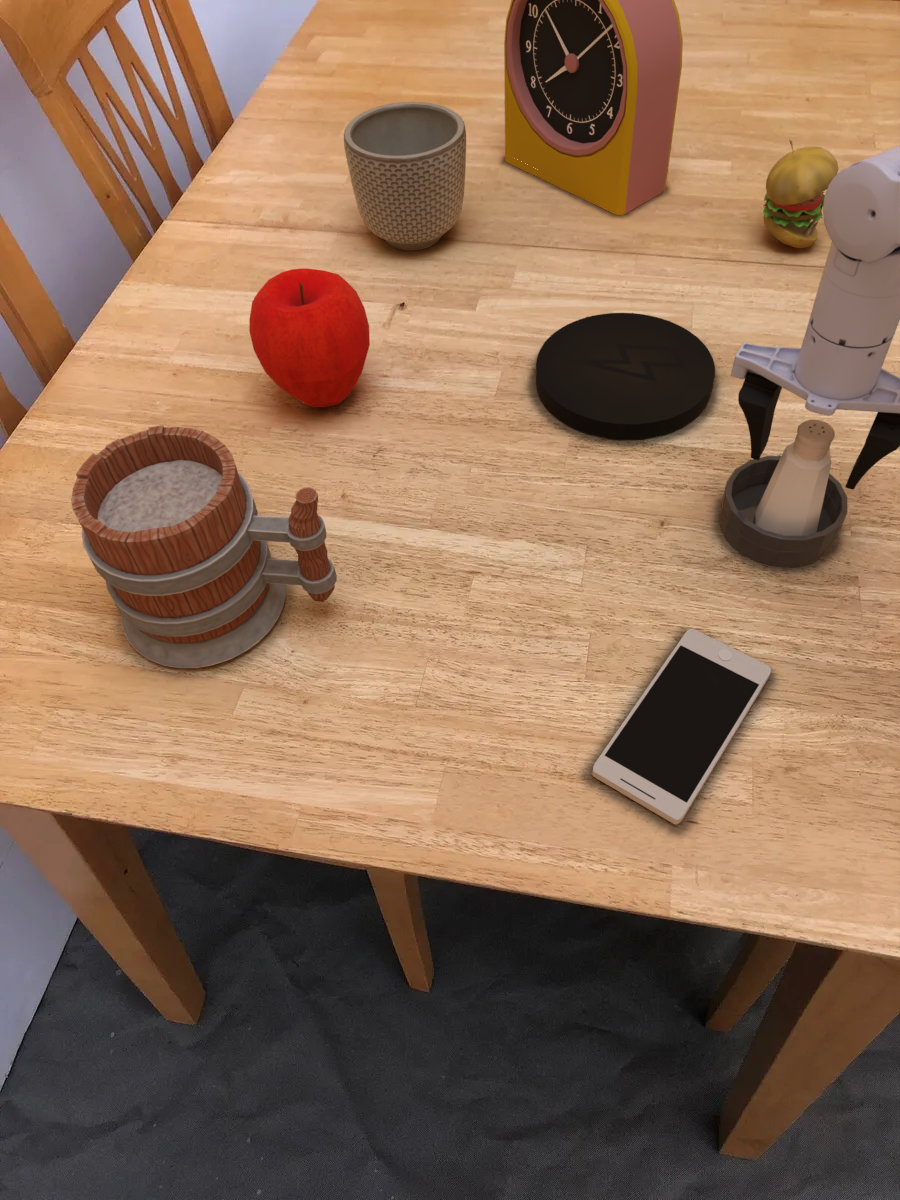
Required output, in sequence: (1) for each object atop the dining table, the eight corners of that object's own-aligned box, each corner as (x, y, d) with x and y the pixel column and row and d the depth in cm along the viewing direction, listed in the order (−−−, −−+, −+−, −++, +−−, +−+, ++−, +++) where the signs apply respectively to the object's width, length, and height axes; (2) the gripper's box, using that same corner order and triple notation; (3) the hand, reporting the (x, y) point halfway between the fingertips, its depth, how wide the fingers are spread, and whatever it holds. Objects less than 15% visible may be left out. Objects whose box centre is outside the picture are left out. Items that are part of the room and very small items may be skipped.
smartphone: (771, 673, 72) (774, 666, 71) (678, 827, 64) (680, 821, 64) (687, 632, 75) (689, 625, 74) (589, 775, 67) (590, 769, 67)
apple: (244, 393, 97) (211, 280, 86) (335, 345, 101) (314, 231, 90) (308, 450, 91) (281, 335, 80) (401, 396, 95) (388, 281, 85)
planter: (487, 217, 116) (485, 110, 105) (440, 276, 108) (433, 167, 98) (389, 198, 120) (378, 93, 110) (337, 254, 112) (319, 147, 102)
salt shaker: (743, 534, 80) (770, 438, 72) (765, 495, 83) (794, 398, 74) (804, 557, 78) (840, 462, 70) (825, 516, 81) (862, 420, 72)
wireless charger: (508, 355, 98) (508, 339, 97) (657, 312, 102) (659, 296, 100) (582, 460, 88) (583, 445, 86) (746, 409, 91) (750, 393, 89)
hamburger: (824, 258, 106) (855, 154, 97) (761, 261, 106) (785, 158, 97) (808, 222, 111) (835, 120, 102) (747, 225, 111) (769, 124, 102)
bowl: (836, 492, 84) (847, 463, 81) (835, 576, 78) (847, 548, 75) (723, 476, 85) (730, 448, 83) (714, 557, 80) (721, 530, 77)
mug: (154, 538, 84) (96, 411, 73) (360, 552, 82) (335, 422, 70) (99, 665, 76) (24, 544, 64) (327, 684, 74) (292, 561, 62)
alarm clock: (502, 160, 124) (500, -73, 104) (550, 136, 128) (557, -94, 107) (619, 216, 114) (643, -29, 93) (668, 188, 117) (701, -54, 97)
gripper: (732, 328, 65) (701, 469, 76) (949, 385, 60) (884, 527, 71) (763, 276, 69) (730, 417, 79) (971, 326, 64) (906, 470, 74)
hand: (804, 466), depth 75 cm, fingers open, 7 cm apart
